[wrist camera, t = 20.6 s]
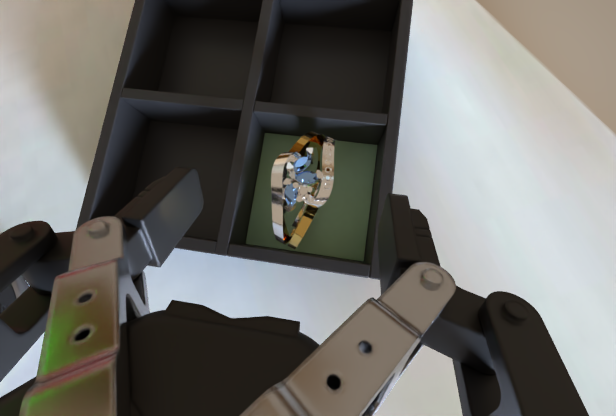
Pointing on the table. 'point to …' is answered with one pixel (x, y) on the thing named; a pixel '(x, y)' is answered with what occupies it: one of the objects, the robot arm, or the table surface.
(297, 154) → the ring
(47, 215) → the table surface
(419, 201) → the table surface
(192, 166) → the organizer
